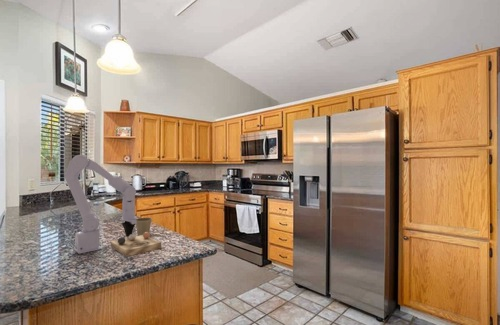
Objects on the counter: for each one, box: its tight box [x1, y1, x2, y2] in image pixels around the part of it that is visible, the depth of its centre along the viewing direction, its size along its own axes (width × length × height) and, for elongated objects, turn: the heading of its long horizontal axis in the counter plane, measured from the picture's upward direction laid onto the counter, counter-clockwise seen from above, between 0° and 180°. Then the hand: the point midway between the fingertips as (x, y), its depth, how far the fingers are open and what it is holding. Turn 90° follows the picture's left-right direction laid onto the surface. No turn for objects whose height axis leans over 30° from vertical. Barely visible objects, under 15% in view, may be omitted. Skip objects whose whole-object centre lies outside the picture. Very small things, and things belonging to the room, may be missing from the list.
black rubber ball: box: [117, 236, 125, 244], centre depth 119 cm, size 3×3×3 cm
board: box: [110, 235, 162, 257], centre depth 122 cm, size 16×20×2 cm
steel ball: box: [128, 233, 137, 240], centre depth 125 cm, size 3×3×3 cm
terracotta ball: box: [143, 232, 151, 239], centre depth 128 cm, size 3×3×3 cm
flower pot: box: [135, 217, 153, 236], centre depth 145 cm, size 9×9×9 cm
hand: (128, 236), depth 129 cm, fingers closed
